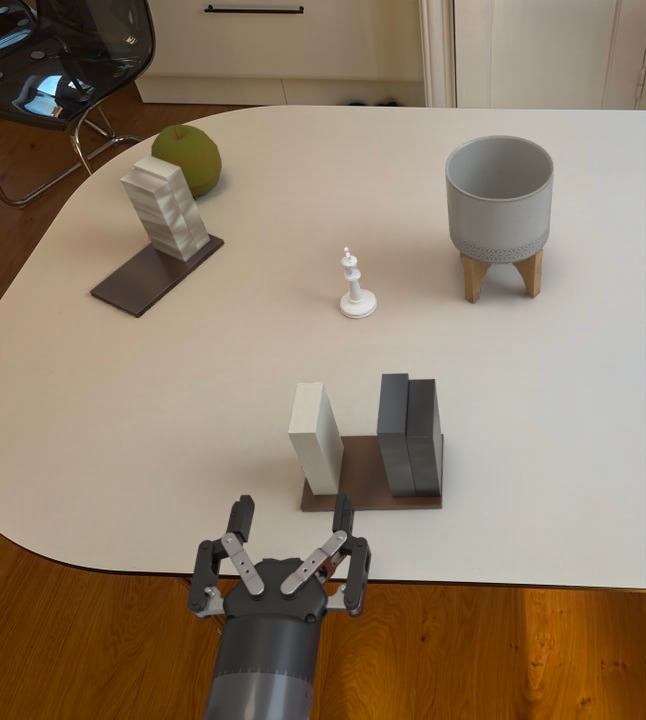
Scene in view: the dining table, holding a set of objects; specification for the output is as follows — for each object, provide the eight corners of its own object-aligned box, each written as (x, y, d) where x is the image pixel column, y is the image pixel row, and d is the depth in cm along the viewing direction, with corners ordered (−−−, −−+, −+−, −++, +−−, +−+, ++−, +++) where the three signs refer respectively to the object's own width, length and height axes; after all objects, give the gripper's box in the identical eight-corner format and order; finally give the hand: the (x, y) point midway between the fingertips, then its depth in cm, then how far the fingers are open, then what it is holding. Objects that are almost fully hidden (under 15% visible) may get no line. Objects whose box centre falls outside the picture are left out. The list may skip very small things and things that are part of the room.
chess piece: (371, 288, 96) (360, 231, 89) (381, 312, 93) (371, 256, 86) (336, 298, 95) (322, 241, 88) (345, 323, 92) (331, 266, 85)
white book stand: (138, 318, 94) (93, 241, 83) (91, 295, 97) (42, 218, 86) (224, 243, 103) (194, 165, 92) (179, 224, 106) (145, 147, 95)
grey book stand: (301, 511, 75) (270, 444, 65) (313, 440, 81) (286, 368, 71) (442, 508, 75) (433, 440, 65) (443, 437, 81) (435, 364, 70)
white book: (313, 495, 75) (287, 433, 66) (320, 447, 79) (297, 382, 70) (337, 494, 75) (315, 432, 66) (343, 446, 79) (323, 381, 70)
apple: (155, 186, 112) (127, 124, 103) (211, 161, 116) (188, 100, 107) (183, 216, 107) (156, 154, 98) (240, 190, 111) (219, 128, 102)
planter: (564, 269, 98) (575, 160, 84) (507, 323, 92) (509, 215, 78) (492, 231, 103) (491, 123, 89) (433, 280, 97) (422, 171, 83)
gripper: (347, 675, 50) (368, 474, 60) (148, 678, 50) (202, 478, 60) (363, 702, 56) (380, 515, 66) (185, 705, 56) (229, 518, 66)
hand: (295, 498), depth 63 cm, fingers open, 8 cm apart
